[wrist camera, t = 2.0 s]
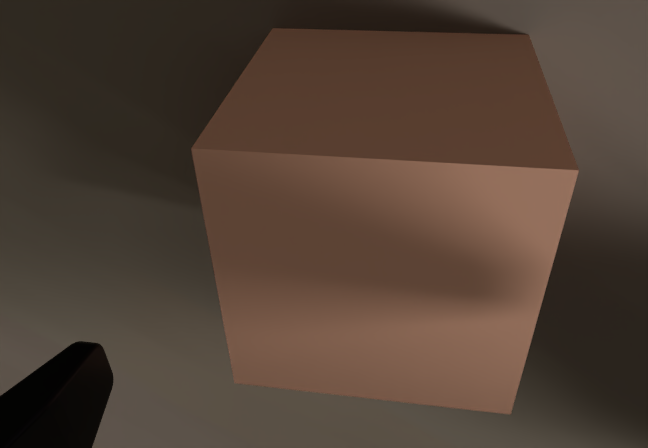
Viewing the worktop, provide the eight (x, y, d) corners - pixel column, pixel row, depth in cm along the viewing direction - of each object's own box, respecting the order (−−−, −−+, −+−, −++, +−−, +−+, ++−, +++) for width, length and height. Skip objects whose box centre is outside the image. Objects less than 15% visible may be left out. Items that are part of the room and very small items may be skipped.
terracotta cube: (489, 238, 17) (510, 414, 12) (288, 224, 18) (234, 383, 13) (528, 33, 13) (578, 170, 9) (273, 27, 14) (190, 148, 9)
